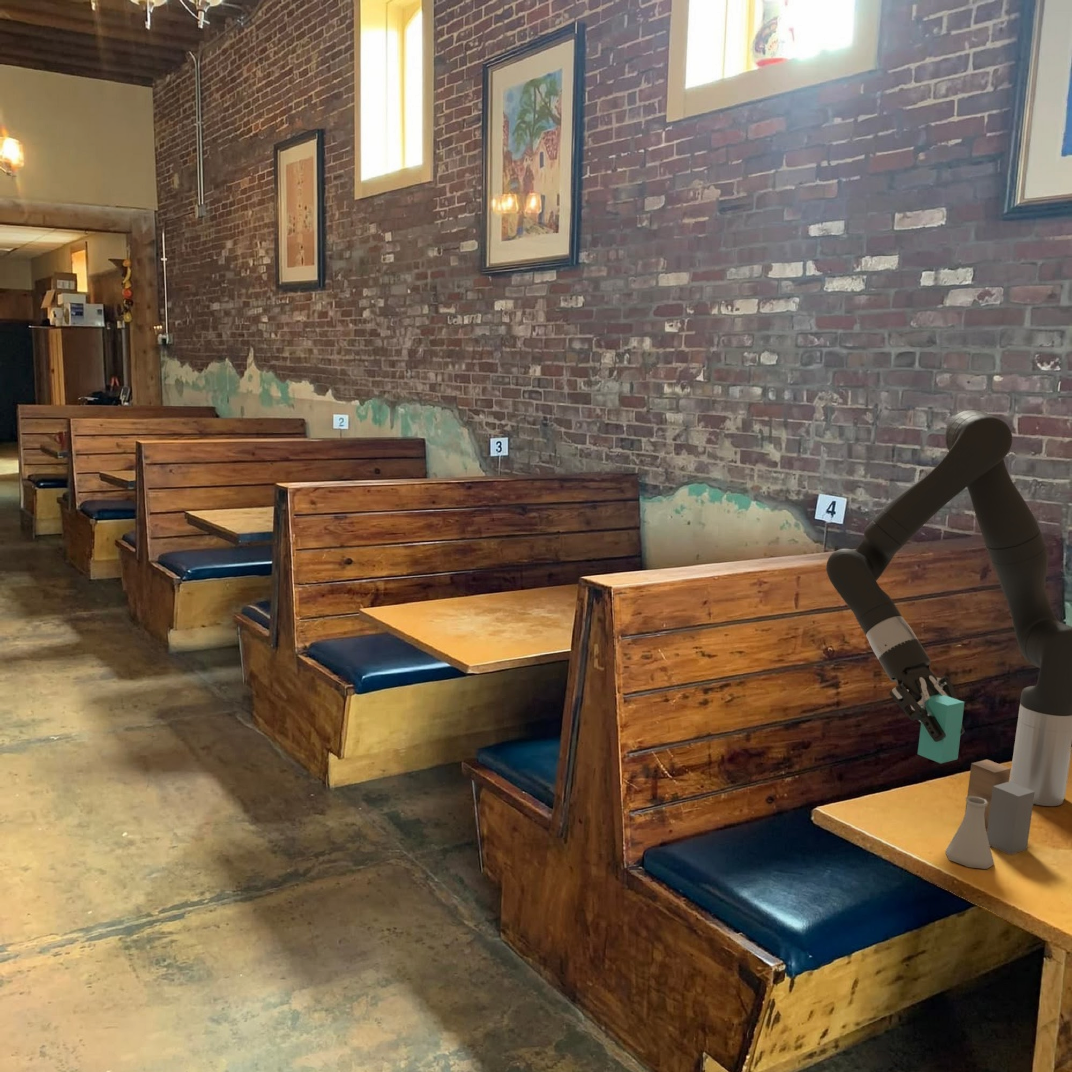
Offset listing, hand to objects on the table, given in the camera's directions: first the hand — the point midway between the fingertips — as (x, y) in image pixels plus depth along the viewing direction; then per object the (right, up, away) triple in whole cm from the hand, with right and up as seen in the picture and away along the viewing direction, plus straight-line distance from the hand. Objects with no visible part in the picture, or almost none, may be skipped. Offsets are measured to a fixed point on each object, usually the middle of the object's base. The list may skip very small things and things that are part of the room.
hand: (950, 736), depth 165 cm
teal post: (-1, -4, +2) cm, 5 cm away
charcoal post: (+9, -18, -1) cm, 20 cm away
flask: (0, -18, -7) cm, 20 cm away
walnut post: (+9, -16, +8) cm, 21 cm away
